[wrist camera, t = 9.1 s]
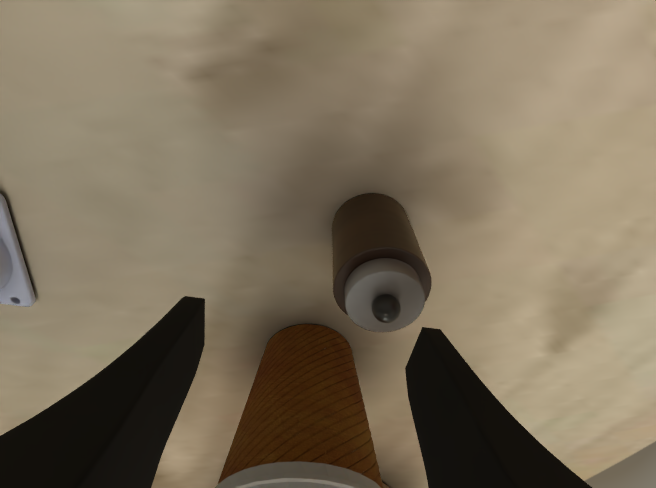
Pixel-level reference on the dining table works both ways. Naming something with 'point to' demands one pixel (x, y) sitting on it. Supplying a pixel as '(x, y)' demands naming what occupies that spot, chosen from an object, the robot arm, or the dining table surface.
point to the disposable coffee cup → (303, 418)
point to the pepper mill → (378, 264)
